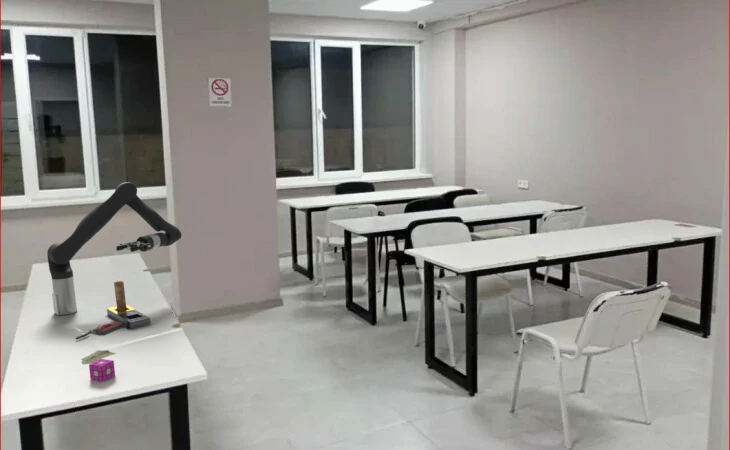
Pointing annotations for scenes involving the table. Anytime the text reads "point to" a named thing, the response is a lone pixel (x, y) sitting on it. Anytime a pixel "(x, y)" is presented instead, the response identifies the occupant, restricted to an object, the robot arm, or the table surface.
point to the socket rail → (128, 317)
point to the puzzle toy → (102, 370)
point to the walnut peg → (120, 296)
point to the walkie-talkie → (104, 328)
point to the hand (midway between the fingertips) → (123, 249)
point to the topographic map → (96, 356)
